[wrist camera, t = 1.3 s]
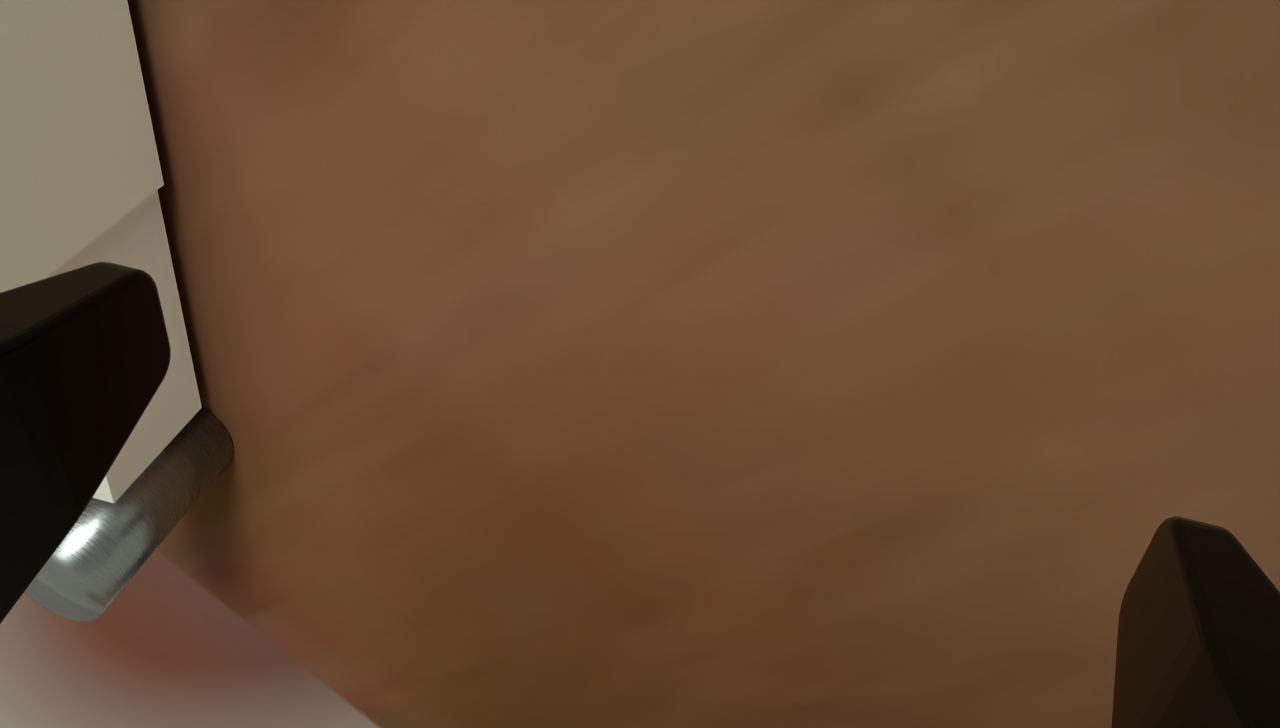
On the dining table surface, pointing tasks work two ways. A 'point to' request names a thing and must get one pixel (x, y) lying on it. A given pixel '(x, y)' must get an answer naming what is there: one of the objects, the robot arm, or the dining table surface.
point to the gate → (87, 181)
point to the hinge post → (130, 524)
